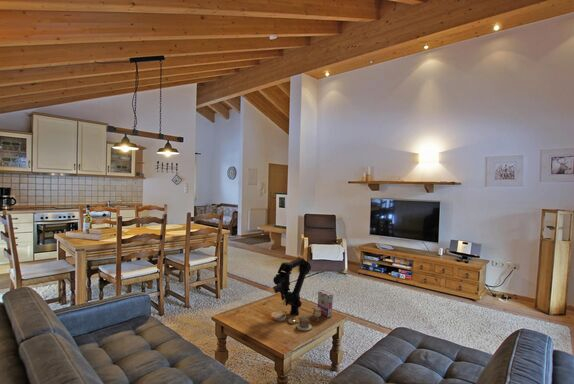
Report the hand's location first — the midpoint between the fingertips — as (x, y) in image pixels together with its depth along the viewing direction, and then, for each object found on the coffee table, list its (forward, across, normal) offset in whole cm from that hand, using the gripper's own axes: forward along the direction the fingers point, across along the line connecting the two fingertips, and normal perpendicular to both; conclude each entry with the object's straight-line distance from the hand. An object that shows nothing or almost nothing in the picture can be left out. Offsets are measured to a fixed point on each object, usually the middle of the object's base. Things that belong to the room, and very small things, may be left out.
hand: (284, 302), depth 212 cm
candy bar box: (+12, -1, +32) cm, 34 cm away
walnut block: (+11, +14, +10) cm, 20 cm away
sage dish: (+12, +14, +10) cm, 21 cm away
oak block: (+7, +6, +22) cm, 24 cm away
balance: (+12, +6, +14) cm, 19 cm away
